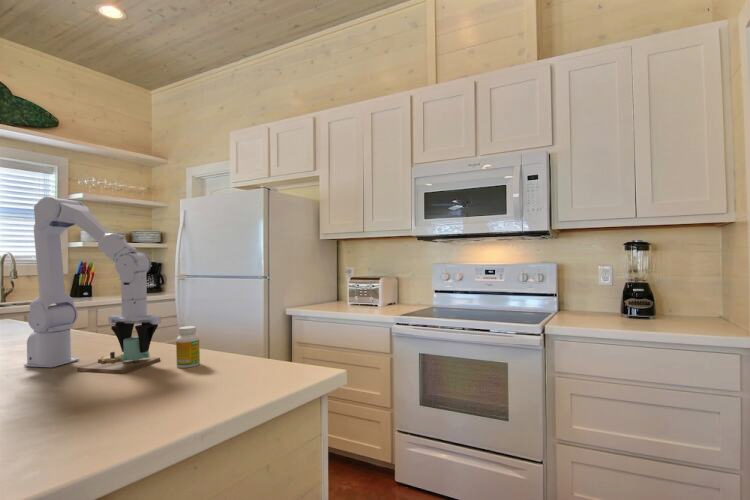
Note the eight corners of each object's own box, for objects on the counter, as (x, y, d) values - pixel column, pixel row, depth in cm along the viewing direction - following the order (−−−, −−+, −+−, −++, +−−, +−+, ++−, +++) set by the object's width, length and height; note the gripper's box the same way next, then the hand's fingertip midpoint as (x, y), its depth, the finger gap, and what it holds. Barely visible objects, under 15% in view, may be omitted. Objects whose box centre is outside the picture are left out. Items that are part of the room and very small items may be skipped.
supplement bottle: (194, 368, 105) (193, 329, 105) (172, 368, 105) (171, 329, 105) (203, 362, 110) (202, 325, 110) (182, 362, 110) (182, 325, 110)
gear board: (76, 370, 105) (76, 353, 105) (116, 358, 116) (116, 343, 116) (123, 373, 101) (123, 355, 101) (160, 360, 113) (159, 344, 113)
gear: (113, 360, 107) (113, 340, 107) (134, 354, 114) (134, 335, 114) (136, 361, 105) (135, 341, 105) (156, 355, 112) (155, 336, 112)
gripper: (97, 300, 107) (99, 354, 107) (146, 301, 104) (147, 356, 104) (120, 297, 114) (121, 347, 114) (166, 297, 111) (167, 349, 111)
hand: (135, 351), depth 110 cm, fingers closed on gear, 5 cm apart
